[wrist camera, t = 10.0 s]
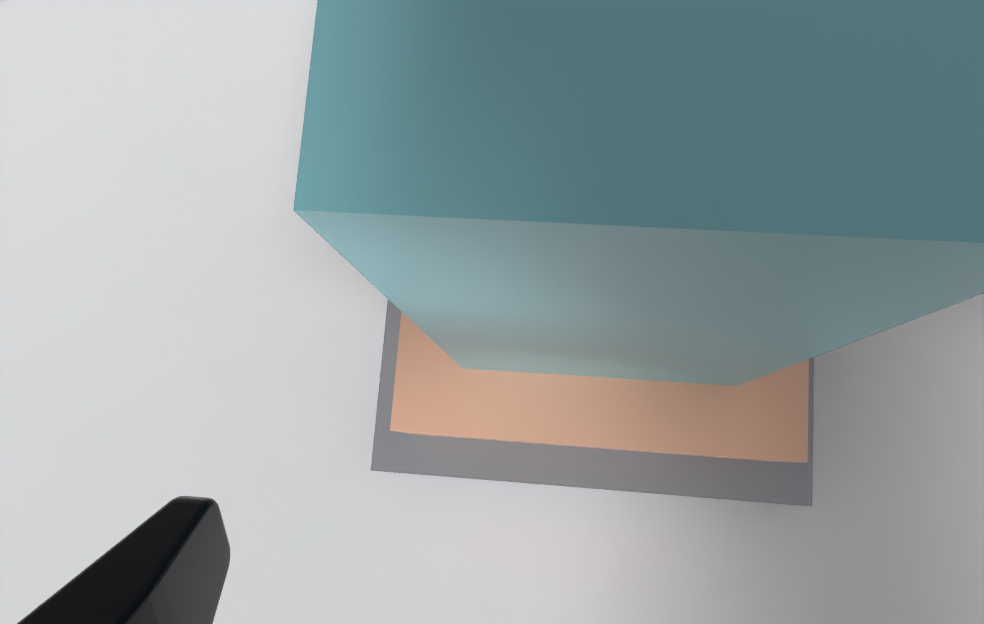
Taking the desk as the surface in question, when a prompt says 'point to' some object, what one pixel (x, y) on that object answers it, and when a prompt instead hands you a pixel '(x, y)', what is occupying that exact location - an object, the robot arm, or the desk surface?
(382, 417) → the tower base
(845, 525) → the desk surface
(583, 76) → the teal brick
